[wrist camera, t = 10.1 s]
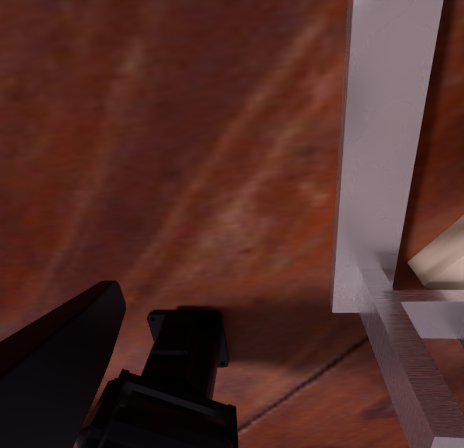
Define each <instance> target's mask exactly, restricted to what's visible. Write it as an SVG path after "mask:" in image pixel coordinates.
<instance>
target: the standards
mask: <svg viewBox="0 0 464 448" xmlns="http://www.w3.org/2000/svg"><path fill="white" fill-rule="evenodd" d="M442 6H443V0H348V5H347V21H346V37H345V54H344V70H343V86H342V103H341V119H340V135H339V152H338V168H337V184H336V201H335V217H334V233H333V250H332V266H331V282H330V299H329V303H330V306H331V310H332V313H359V314H360V316H361V319H362V322H363V325H364V327H365V330H366V333H367V335H368V338H369V341H370V343H371V346H372V349H373V351H374V354H375V357H376V359H377V362H378V365H379V367H380V370H381V373H382V375H383V378H384V381H385V383H386V386H387V389H388V391H389V394H390V397H391V400H392V402H393V405H394V408H395V410H396V413H397V416H398V418H399V421H400V424H401V426H402V429H403V432H404V434H405V437H406V440H407V442H408V445H409V448H464V414H463V412H462V410H461V408H460V407H459V405H458V403H457V401H456V399H455V398H454V396H453V394H452V392H451V391H450V389H449V387H448V385H447V383H446V382H445V380H444V378H443V376H442V375H441V373H440V371H439V369H438V368H437V366H436V364H435V362H434V360H433V359H432V357H431V355H430V353H429V352H428V350H427V348H426V346H425V344H424V343H423V341H422V339H421V338H456V339H458V340H459V342H460V343H461V345H462V346H463V347H464V290H410V291H394V289H393V288H392V286H393V281H394V275H395V270H396V264H397V258H398V253H399V247H400V242H401V236H402V230H403V225H404V219H405V213H406V208H407V202H408V197H409V191H410V185H411V180H412V174H413V169H414V163H415V157H416V152H417V146H418V140H419V135H420V129H421V124H422V118H423V112H424V107H425V101H426V95H427V90H428V84H429V79H430V73H431V67H432V62H433V56H434V51H435V45H436V39H437V34H438V28H439V22H440V17H441V11H442Z"/></svg>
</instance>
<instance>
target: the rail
mask: <svg viewBox="0 0 464 448" xmlns="http://www.w3.org/2000/svg"><path fill="white" fill-rule="evenodd" d="M407 263H408V264H409V266H410V267H411V268H412V270H413V271H414V273H415V274H416V276H417V277H418V278H419V280H420V281H421V283H422V284H423V285H424V286H425V287H426V288H428V289H429V290H464V215H463V216H462V217H461V218H460V219H459V220H457V221H456V222H455V223H454V224H453V225H451V226H450V227H449V228H448V229H447V230H445V231H444V232H443V233H442V234H441V235H439V236H438V237H437V238H436V239H435V240H433V241H432V242H431V243H430V244H429V245H427V246H426V247H425V248H424V249H423V250H421V251H420V252H419V253H418V254H417V255H415V256H414V257H413V258H412V259H411V260H409V261H408V262H407Z"/></svg>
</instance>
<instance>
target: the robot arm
mask: <svg viewBox="0 0 464 448" xmlns="http://www.w3.org/2000/svg"><path fill="white" fill-rule="evenodd" d="M125 311H126V304H125V300H124V297H123V294H122V291H121V288H120V285H119V283H118V282H117V281H101V282H99V283H97V284H96V285H94V286H92V287H91V288H89V289H87V290H86V291H84V292H82V293H81V294H79V295H77V296H76V297H74V298H72V299H71V300H69V301H67V302H66V303H64V304H62V305H61V306H59V307H57V308H56V309H54V310H52V311H51V312H49V313H47V314H46V315H44V316H42V317H41V318H39V319H37V320H36V321H34V322H32V323H31V324H29V325H27V326H26V327H24V328H23V329H21V330H19V331H18V332H16V333H14V334H13V335H11V336H9V337H8V338H6V339H4V340H3V341H1V342H0V448H73V446H74V444H75V442H76V446H77V448H238V433H237V416H236V406H233V405H230V404H228V405H226V404H223V403H220V402H217V401H214V400H212V398H213V392H214V386H215V379H216V373H217V367H227V366H228V363H229V358H228V352H227V345H226V338H225V331H224V325H223V318H222V314H221V313H220V312H217V311H153V312H150V313H149V315H148V317H147V320H148V324H149V327H150V330H151V334H152V337H153V340H154V344H153V346H152V349H151V352H150V354H149V357H148V359H147V362H146V364H145V367H144V369H143V372H142V374H141V376H138V375H135V374H132V373H129V372H130V371H128V370H125V369H122V371H121V373H120V375H119V377H118V379H117V378H115V379H114V380H111V381H108V383H107V385H106V387H105V389H104V391H103V393H102V395H101V397H100V399H99V401H98V403H97V404H96V406H95V408H94V409H93V411H92V412H91V414H90V415H89V417H88V418H87V420H86V421H85V418H86V416H87V414H88V411H89V409H90V407H91V404H92V402H93V400H94V398H95V395H96V393H97V391H98V388H99V386H100V384H101V381H102V379H103V377H104V374H105V372H106V369H107V367H108V365H109V362H110V359H111V356H112V353H113V350H114V347H115V343H116V340H117V337H118V334H119V331H120V328H121V324H122V321H123V318H124V315H125ZM153 317H154V318H153ZM215 317H217V318H215ZM84 421H85V423H84ZM83 423H84V425H83ZM82 425H83V426H82Z"/></svg>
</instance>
